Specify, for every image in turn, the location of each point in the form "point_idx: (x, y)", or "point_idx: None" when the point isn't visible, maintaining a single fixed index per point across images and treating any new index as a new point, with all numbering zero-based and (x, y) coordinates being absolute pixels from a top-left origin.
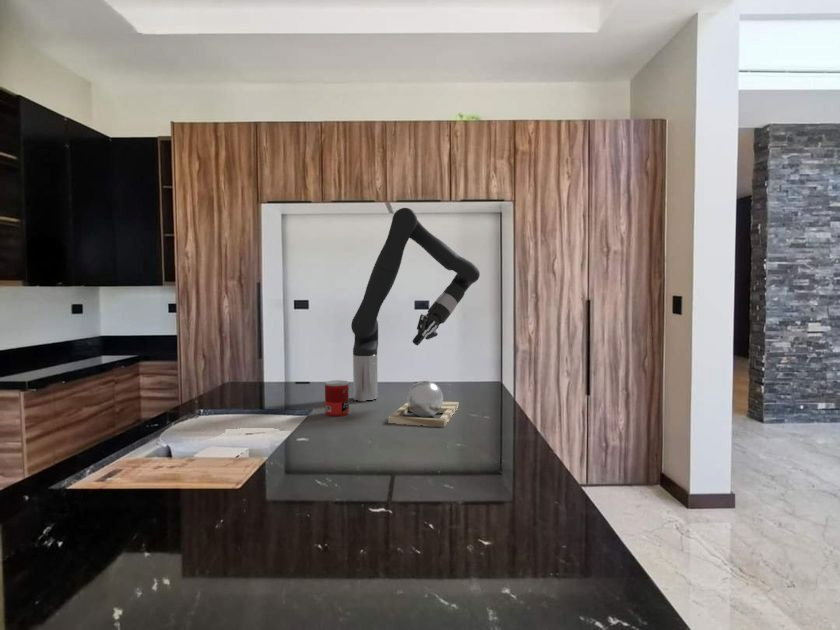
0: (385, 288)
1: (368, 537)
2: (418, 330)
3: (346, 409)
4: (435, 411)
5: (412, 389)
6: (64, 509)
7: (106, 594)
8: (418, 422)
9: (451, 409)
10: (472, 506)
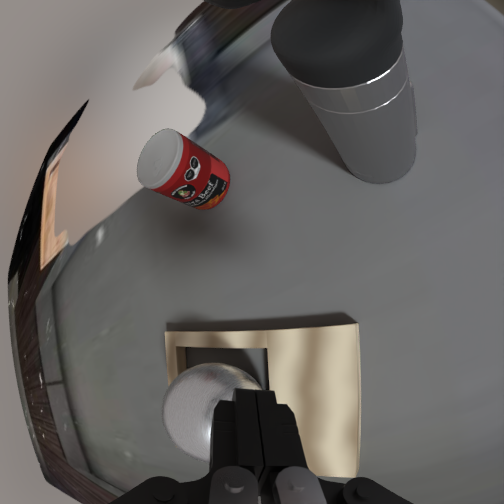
0: None
1: (30, 378)
2: (175, 486)
3: (195, 207)
4: None
5: (169, 387)
6: (33, 201)
7: (11, 291)
8: None
9: None
10: (56, 438)
